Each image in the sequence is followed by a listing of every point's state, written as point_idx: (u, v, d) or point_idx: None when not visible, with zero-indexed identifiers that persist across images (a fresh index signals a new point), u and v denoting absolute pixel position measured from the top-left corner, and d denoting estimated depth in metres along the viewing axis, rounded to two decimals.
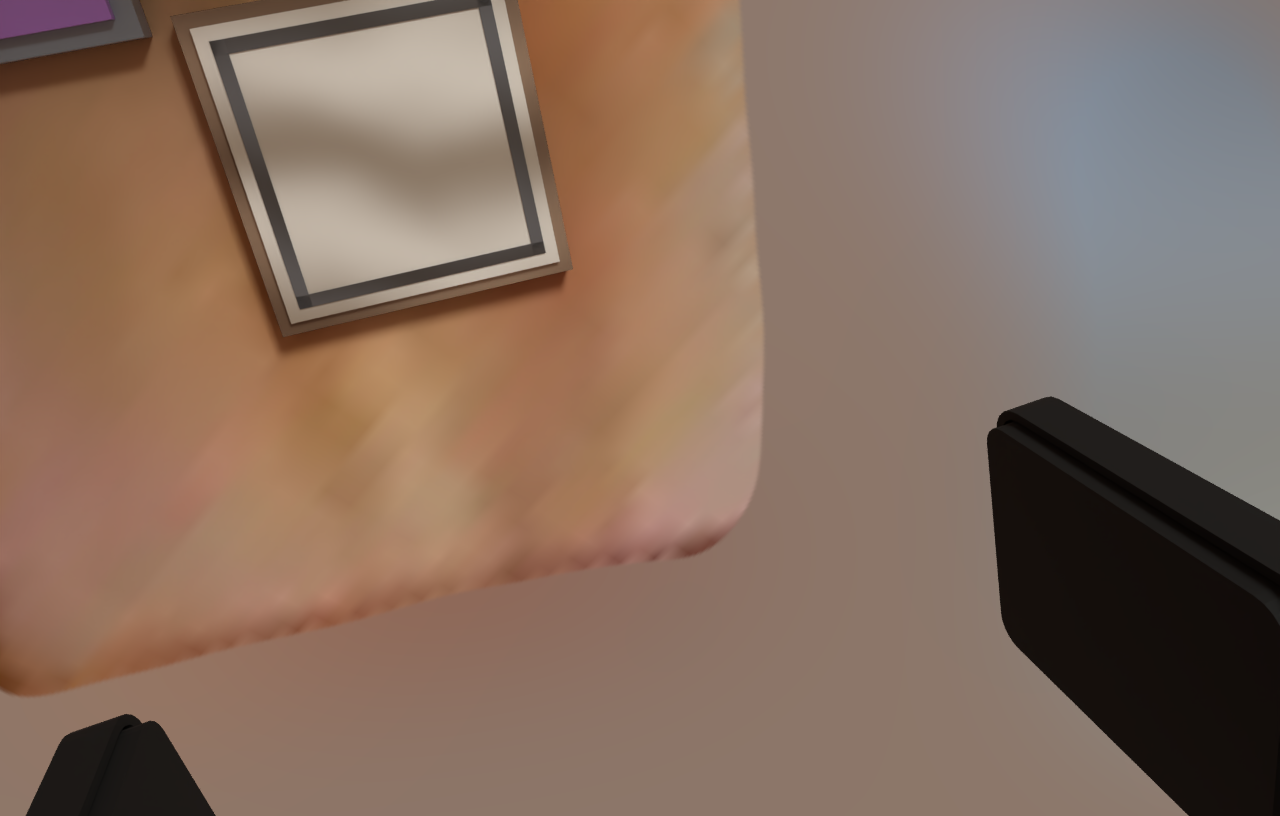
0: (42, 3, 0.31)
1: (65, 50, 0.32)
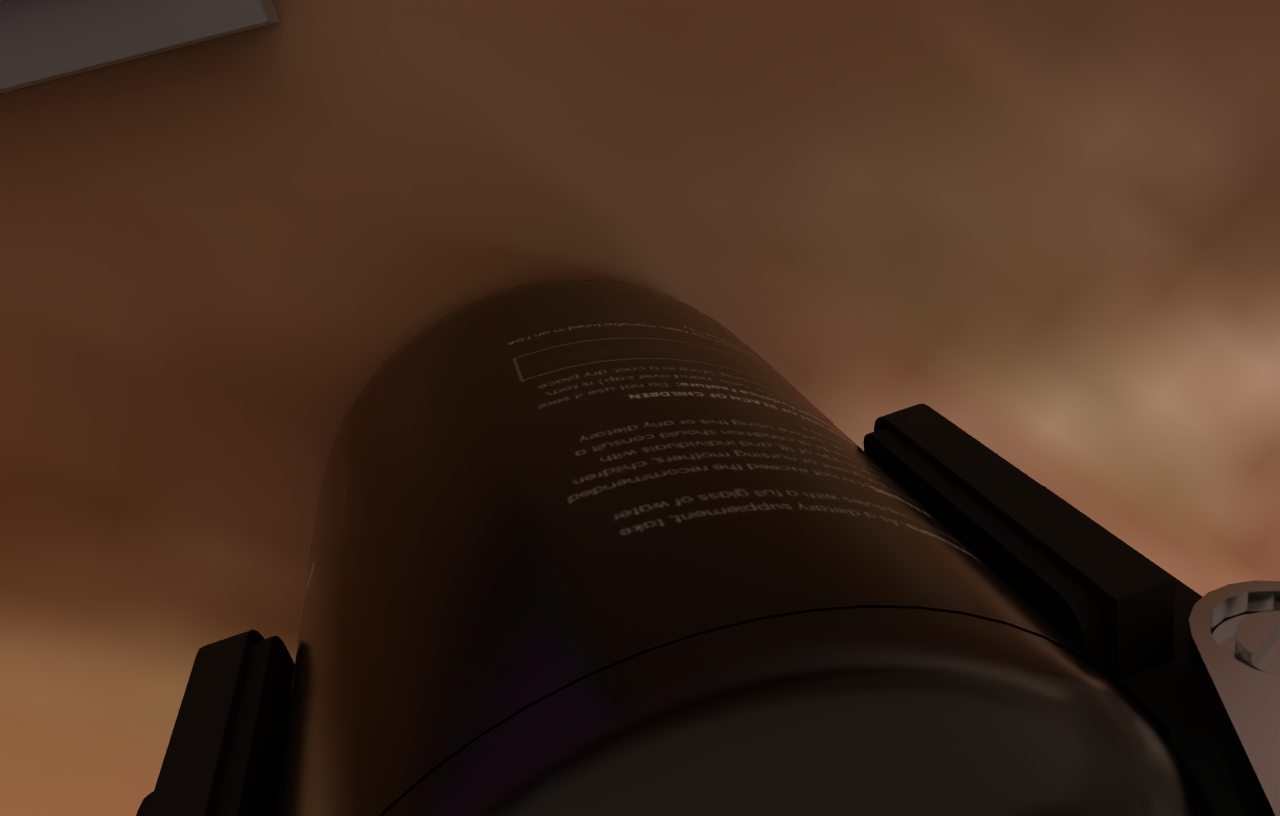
0: None
1: None
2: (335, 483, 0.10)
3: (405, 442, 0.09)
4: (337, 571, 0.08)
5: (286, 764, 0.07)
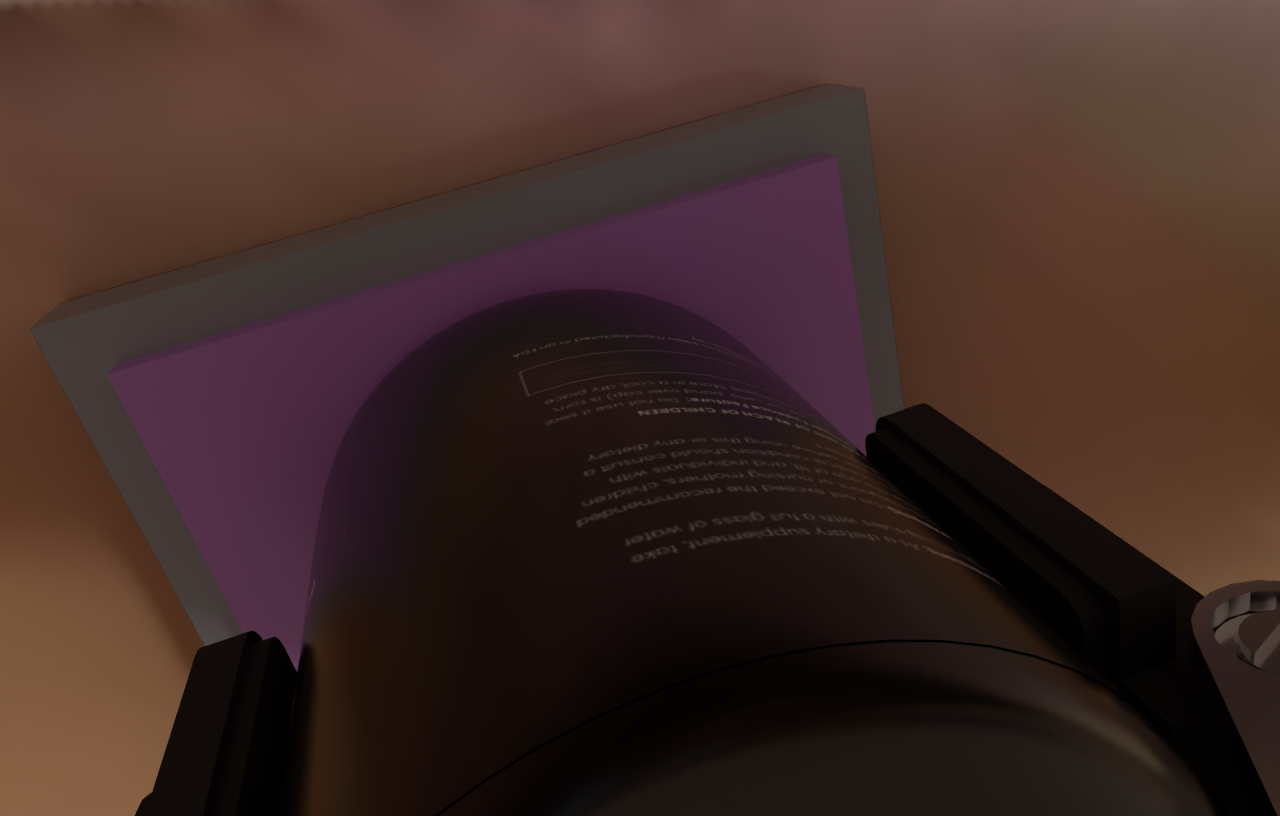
0: None
1: None
2: (336, 498, 0.10)
3: (407, 458, 0.09)
4: (339, 592, 0.08)
5: (286, 795, 0.07)
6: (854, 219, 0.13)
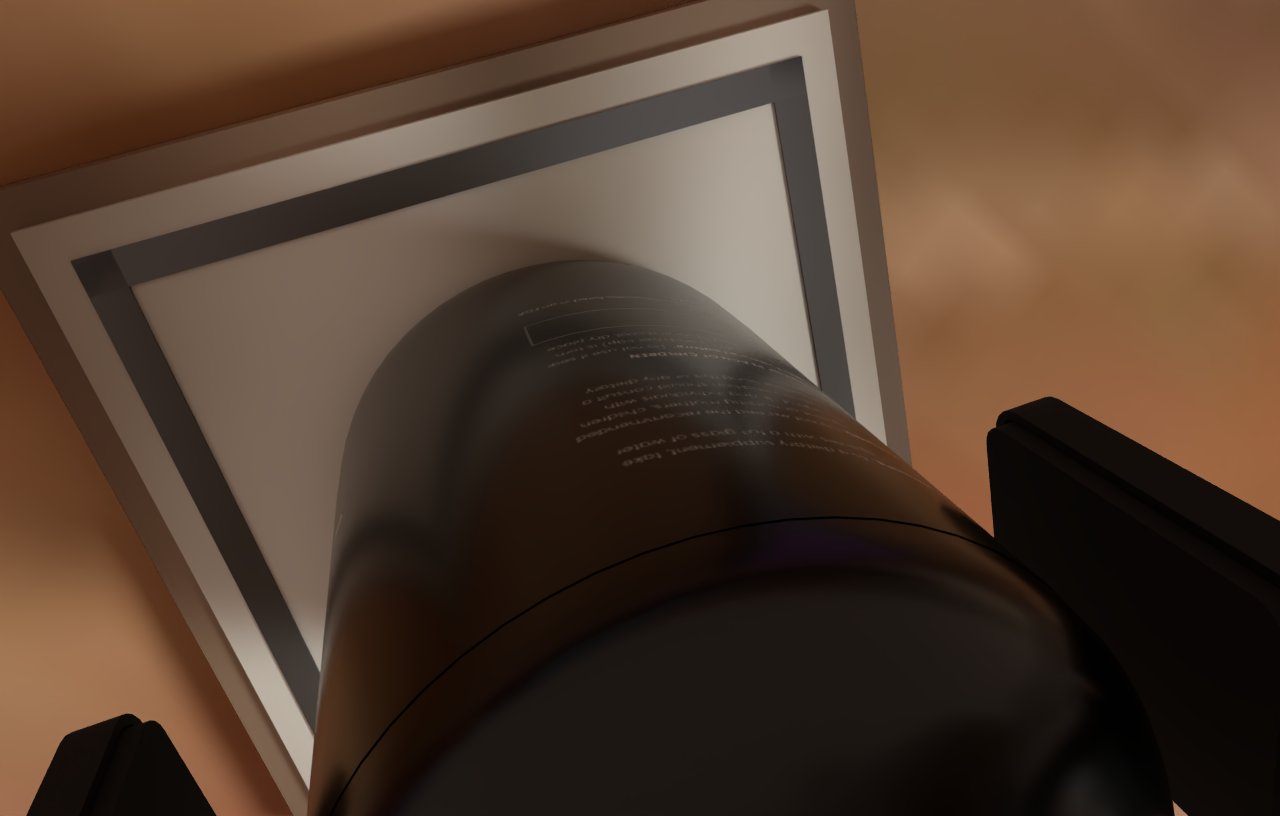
0: None
1: None
2: (359, 444, 0.11)
3: (425, 402, 0.10)
4: (368, 514, 0.09)
5: (326, 678, 0.08)
6: None
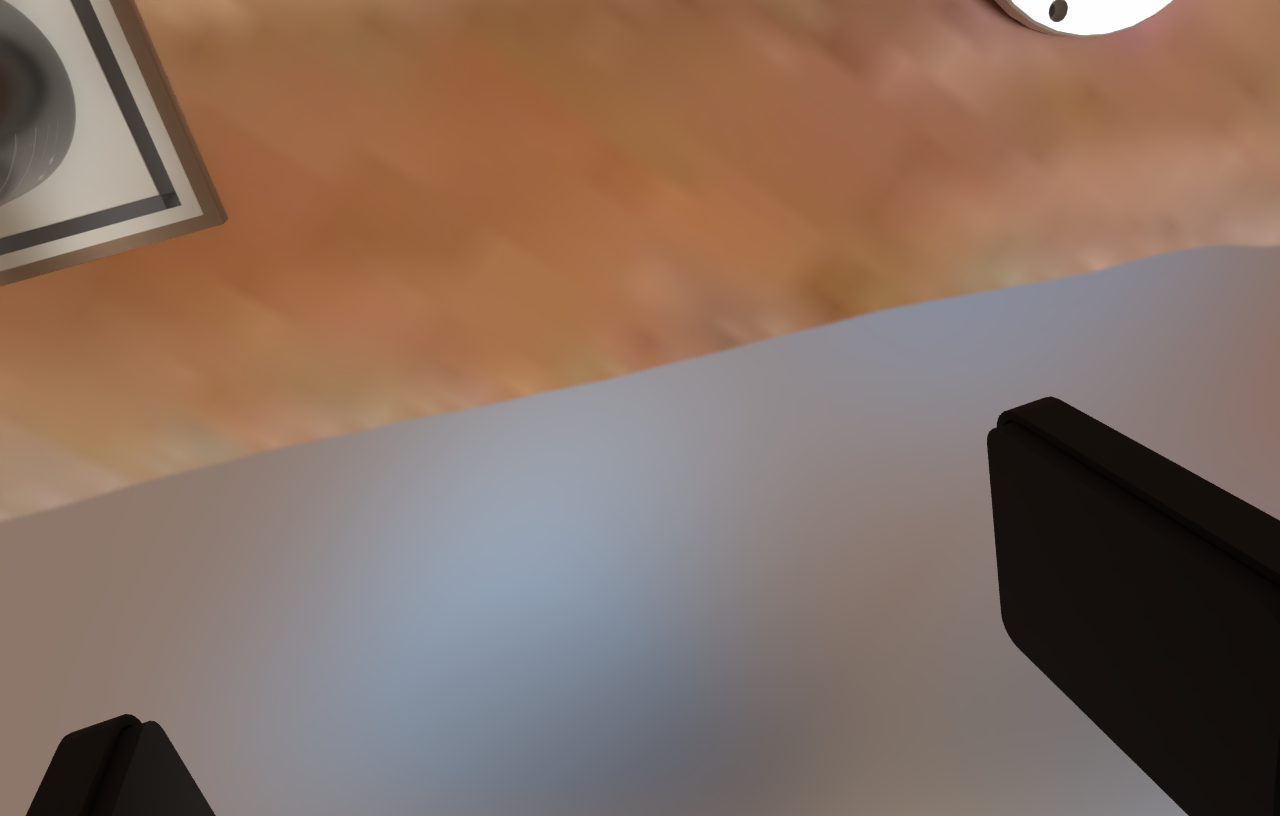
0: None
1: None
2: None
3: None
4: None
5: None
6: None
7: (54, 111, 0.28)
